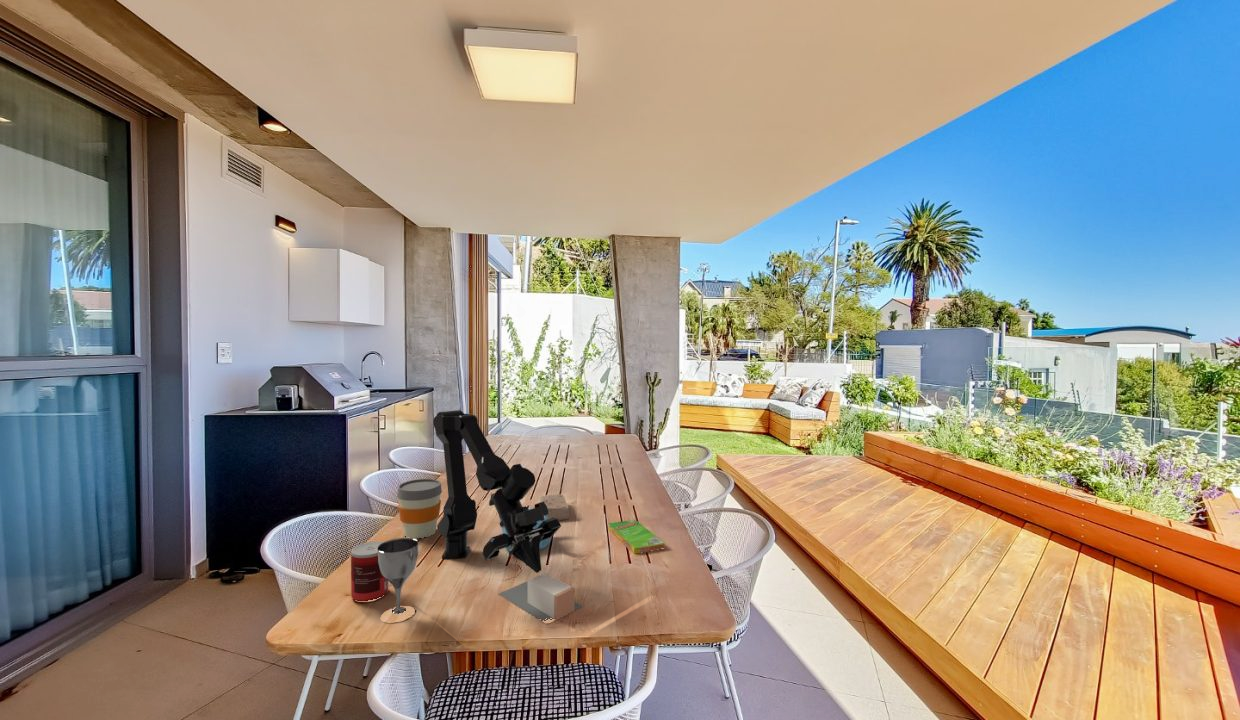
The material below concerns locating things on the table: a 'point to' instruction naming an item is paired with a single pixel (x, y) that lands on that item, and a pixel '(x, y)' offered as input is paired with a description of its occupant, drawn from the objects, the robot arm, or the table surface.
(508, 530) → the robot arm
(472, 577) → the table surface
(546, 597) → the tall block
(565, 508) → the brick
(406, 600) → the table surface
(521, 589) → the rubber mat
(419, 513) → the reusable coffee cup
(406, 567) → the wine glass
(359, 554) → the canned food
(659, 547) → the game box
